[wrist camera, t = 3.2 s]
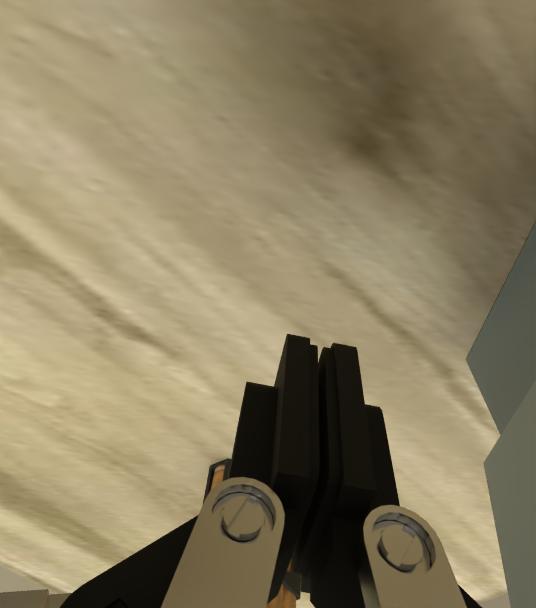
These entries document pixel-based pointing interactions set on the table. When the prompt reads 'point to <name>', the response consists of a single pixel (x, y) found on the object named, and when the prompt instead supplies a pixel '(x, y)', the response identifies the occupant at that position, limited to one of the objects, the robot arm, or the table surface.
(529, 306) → the box
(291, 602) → the ammunition clip
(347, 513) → the robot arm
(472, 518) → the table surface
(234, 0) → the table surface
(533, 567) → the lid
